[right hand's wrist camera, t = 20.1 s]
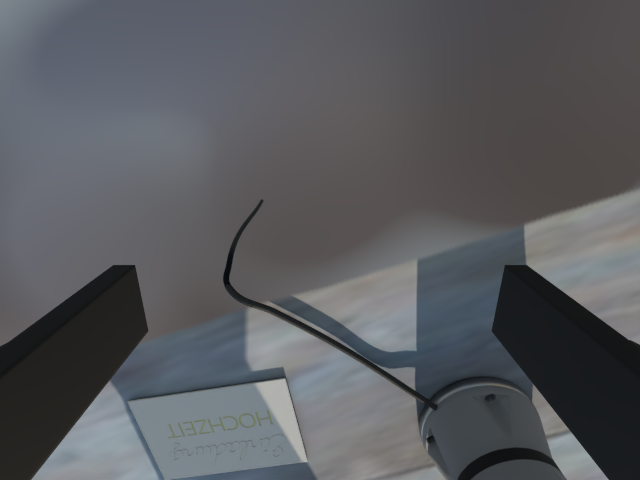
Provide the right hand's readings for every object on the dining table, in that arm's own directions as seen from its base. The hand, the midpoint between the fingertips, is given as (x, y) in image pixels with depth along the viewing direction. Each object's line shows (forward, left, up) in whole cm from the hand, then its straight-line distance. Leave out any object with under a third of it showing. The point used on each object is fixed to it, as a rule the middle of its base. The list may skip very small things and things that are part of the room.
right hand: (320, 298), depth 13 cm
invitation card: (+14, -35, -25) cm, 45 cm away
